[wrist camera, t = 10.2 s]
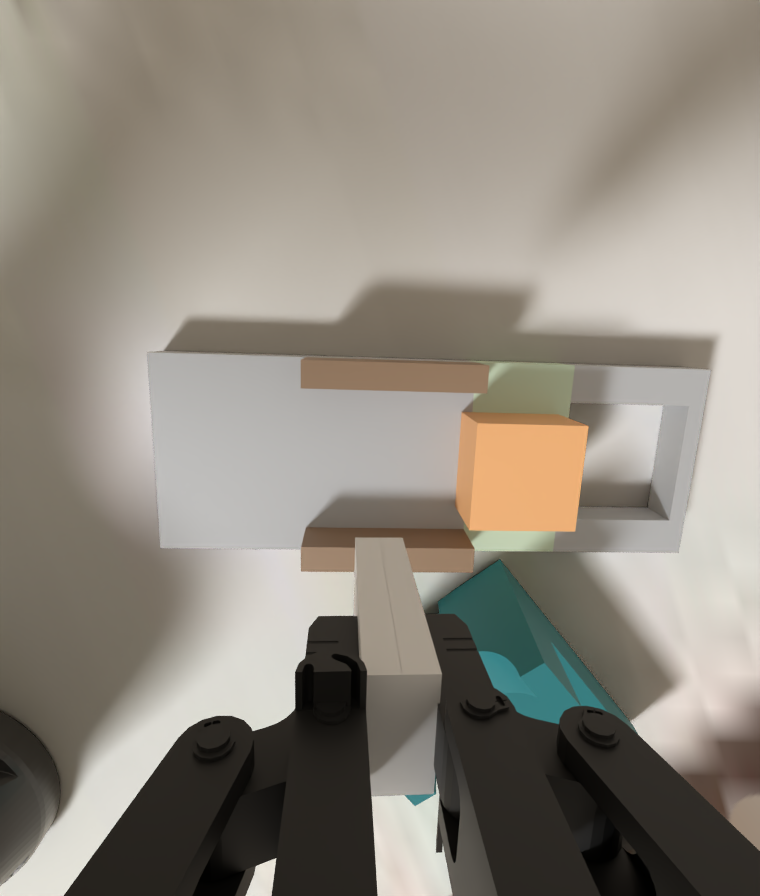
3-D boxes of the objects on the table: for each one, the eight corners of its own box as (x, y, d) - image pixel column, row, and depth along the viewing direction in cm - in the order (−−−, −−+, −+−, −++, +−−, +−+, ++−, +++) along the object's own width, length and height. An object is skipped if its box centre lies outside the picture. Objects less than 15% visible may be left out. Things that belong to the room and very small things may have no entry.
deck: (174, 532, 33) (140, 570, 28) (163, 350, 31) (123, 354, 25) (656, 537, 35) (710, 574, 30) (684, 367, 33) (749, 373, 27)
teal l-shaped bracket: (378, 639, 37) (374, 765, 27) (499, 559, 35) (544, 662, 25) (515, 789, 41) (557, 949, 30) (632, 724, 39) (717, 872, 28)
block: (454, 506, 31) (469, 530, 28) (461, 411, 30) (477, 423, 26) (548, 507, 32) (575, 531, 28) (558, 414, 30) (588, 426, 27)
